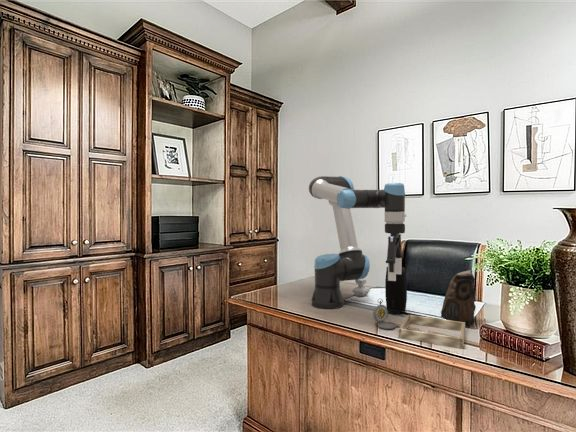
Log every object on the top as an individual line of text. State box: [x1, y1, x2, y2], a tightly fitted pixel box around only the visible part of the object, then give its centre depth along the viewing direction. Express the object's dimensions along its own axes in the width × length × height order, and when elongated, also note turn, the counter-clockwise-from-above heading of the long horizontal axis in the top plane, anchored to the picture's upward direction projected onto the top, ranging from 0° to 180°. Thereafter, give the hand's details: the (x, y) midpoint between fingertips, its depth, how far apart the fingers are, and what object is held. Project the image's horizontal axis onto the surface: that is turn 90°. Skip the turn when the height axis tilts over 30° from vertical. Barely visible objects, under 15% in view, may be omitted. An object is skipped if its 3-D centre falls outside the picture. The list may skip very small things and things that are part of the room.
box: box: [398, 314, 466, 350], centre depth 120 cm, size 20×18×3 cm
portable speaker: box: [384, 266, 408, 315], centre depth 146 cm, size 9×9×20 cm
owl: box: [440, 269, 477, 327], centre depth 132 cm, size 13×13×20 cm
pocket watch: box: [372, 298, 397, 330], centre depth 129 cm, size 8×8×10 cm
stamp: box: [351, 278, 371, 297], centre depth 174 cm, size 9×7×8 cm
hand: (395, 277), depth 131 cm, fingers open, 13 cm apart
